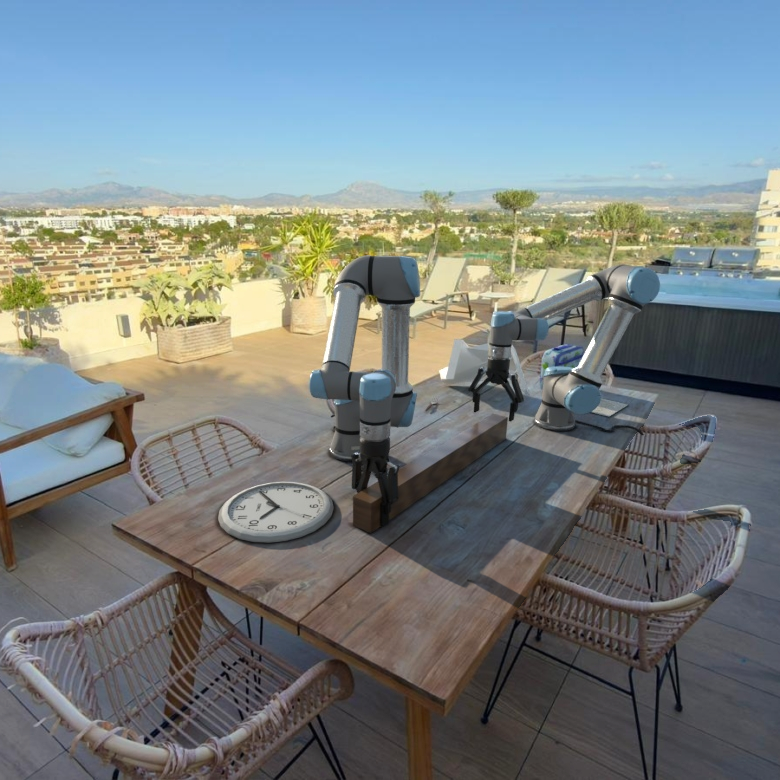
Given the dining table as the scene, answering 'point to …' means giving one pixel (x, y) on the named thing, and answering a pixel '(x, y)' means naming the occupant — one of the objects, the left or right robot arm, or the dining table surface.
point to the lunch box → (561, 358)
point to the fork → (432, 403)
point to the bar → (430, 470)
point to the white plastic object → (474, 364)
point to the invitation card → (608, 407)
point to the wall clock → (275, 512)
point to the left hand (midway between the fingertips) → (374, 519)
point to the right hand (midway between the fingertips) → (493, 415)
